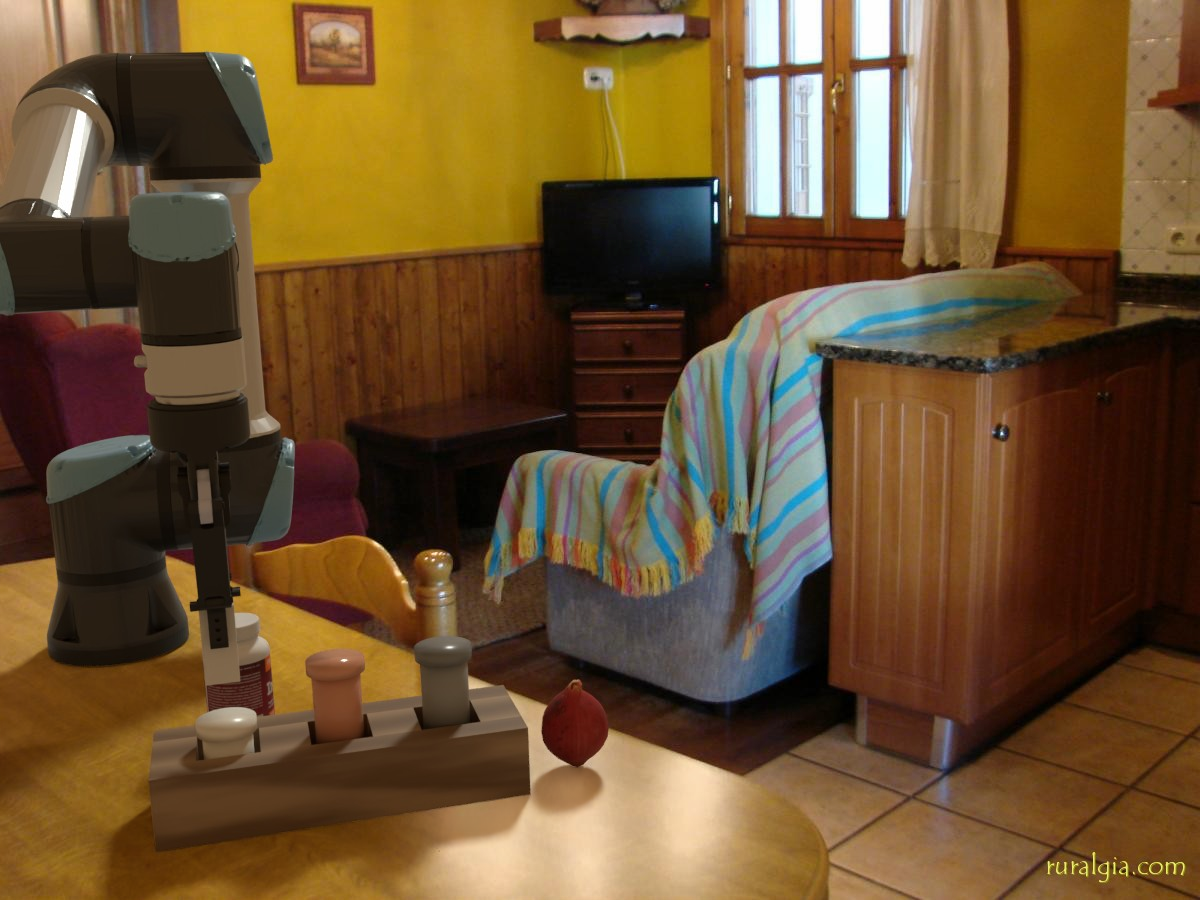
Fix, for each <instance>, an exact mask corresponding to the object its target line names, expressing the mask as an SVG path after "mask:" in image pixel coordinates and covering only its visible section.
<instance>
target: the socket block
mask: <svg viewBox="0 0 1200 900" xmlns="http://www.w3.org/2000/svg"><path fill="white" fill-rule="evenodd" d="M362 704H363V719H364V734H365V738H359V739H352V740H345V741H338V742H330V743H323V744H316V733H315V720H314V709H308V710H300V711H294V712H292V711H291V712H284V713H278V714H276V713H275V715H268V716H261V717H257V729H256V731H255V732H254V733H253V740H254V751H255V753H250V754H243V755H236V756H228V757H221V758H214V759H207V760H204V753H203V742H202V740H200V739H199V738H198V737H197V734H196V724H192V725H187V726H185V725H184V726H177V727H172V728H171V727H170V728H162V729H154V730H153V736H152V737H153V738H152V745H151V754H150V762H149V763H150V764H149V772H148V779H147V780H148V781H147V782H148V790H149V791H148V792H149V799H150V800H149V801H150V809H151V817H152V818H151V820H152V827H153V829H152V830H153V840H154V848H155V853H158V852H164V851H165V852H166V851H172V850H179V849H185V848H191V847H197V846H198V847H199V846H204V845H210V844H218V843H225V842H231V841H237V840H243V839H249V838H258V837H263V836H271V835H276V834H282V833H288V832H296V831H302V830H303V831H304V830H309V829H314V828H321V827H328V826H334V825H341V824H347V823H354V822H361V821H367V820H373V819H380V818H385V817H387V818H388V817H394V816H399V815H405V814H411V813H419V812H426V811H431V810H437V809H438V810H439V809H446V808H452V807H458V806H459V807H460V806H466V805H470V804H471V805H472V804H477V803H484V802H492V801H496V800H503V799H511V798H517V797H523V796H529V795H531V794H532V793H531V792H532V791H531V789H532V788H531V769H530V768H531V767H530V744H529V743H530V741H529V727H528V724H527V723H526V722H525V720H524V718H523V717H522V715H521V713H520V711H519V709H518V707H517V706H516V704H515V703H514V701H513V699H512V698H511V695H510V694H509V692H508V691H507V689H506V687H505V685H504V684H501V685H500V684H499V685H492V686H484V687H476V688H469V704H470V723H469V724H461V725H454V726H447V727H440V728H432V729H425V730H424V727H423V709H422V695H417V696H416V695H415V696H407V697H400V698H399V697H398V698H392V699H386V700H385V699H383V700H377V701H369V702H362Z"/></svg>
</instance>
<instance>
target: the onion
mask: <svg viewBox="0 0 1200 900" xmlns="http://www.w3.org/2000/svg"><path fill="white" fill-rule="evenodd" d="M609 729H610V728H609V721H608V717H607V714H606V711H605V709H604V707H603V705H602V704H601V703H600V701H599V700H598V699H596V697H594V696H593V695H592V694H590V693H589V692H587V691H585V690H584V689H583V683H582V681H581V680H580V679H572V681H570V683H568V685H567V686H566V687H565V689H564V690H562V691H560V692H559V693H557V694H556V695H555V696H554V697H553V698H552V699H551V700H550V701H549V703H548V704H547V705H546V707H545V709H544V711H543V715H542V719H541V729H540V731H541V738H542V742H543V743H544V745H545V748H546V749H547V750H548V751H549V752H550V753H551V754H552V755H553V756H555V757H556V758H557V759H558V760H560V761H562V762H564V763H566V764H568V765H569V766H572V767H574V768H580V767H582V766H584V765H585V764H586V762H587V761H589V760H590V759H591V758H593V757H594V756H596V755H597V753H598V752H599V751H600V750H602V748H603V747H604V746H605V743H606V741H607V740H608V736H609Z"/></svg>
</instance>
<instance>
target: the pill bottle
mask: <svg viewBox="0 0 1200 900" xmlns="http://www.w3.org/2000/svg"><path fill="white" fill-rule="evenodd" d="M234 613H235V624H236V636H237V647H238V658H239V670H240V682H232V683H224V684H216V685H207V686H206V684H205V683H204V689H205V690H204V692H205V700H206V701H205V702H206V713H207V712H210V711H213V710H217V709H221V708H229V707H243V708H248V709H251V710H253V711H255V713H256V715H257V717H261V716H268V715H276V708H275V707H276V706H275V697H274V686H273V673H272V659H271V650H270V649H271V648H270V644H269V643H268V641H267V640H266V639H265V638H263V637H262V636H259V634H260V632H261V625H260V618H259V616H258V615H256V614H255V613H251V612H234ZM201 656H202V659H203V652H202V655H201ZM202 666H203V667H202V669H203V670H202V671H204V663H203V662H202ZM203 679H204V682H205V673H204V672H203Z"/></svg>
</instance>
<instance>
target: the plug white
mask: <svg viewBox="0 0 1200 900" xmlns="http://www.w3.org/2000/svg"><path fill="white" fill-rule="evenodd" d="M195 725H196V734H197V737H198V738H199V739H200V740H202V742H203V753H204V760H207V759H214V758H221V757H228V756H236V755H243V754H250V753H255V751H254V740H253V733H254V732H255V731H256V729H257V715H256V713H255V711H253V710H251V709H248V708H243V707H229V708H221V709H217V710H213V711H210V712H207V711H206V713H203V714H201V715H200V716H198V717H197V718H196V720H195Z"/></svg>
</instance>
